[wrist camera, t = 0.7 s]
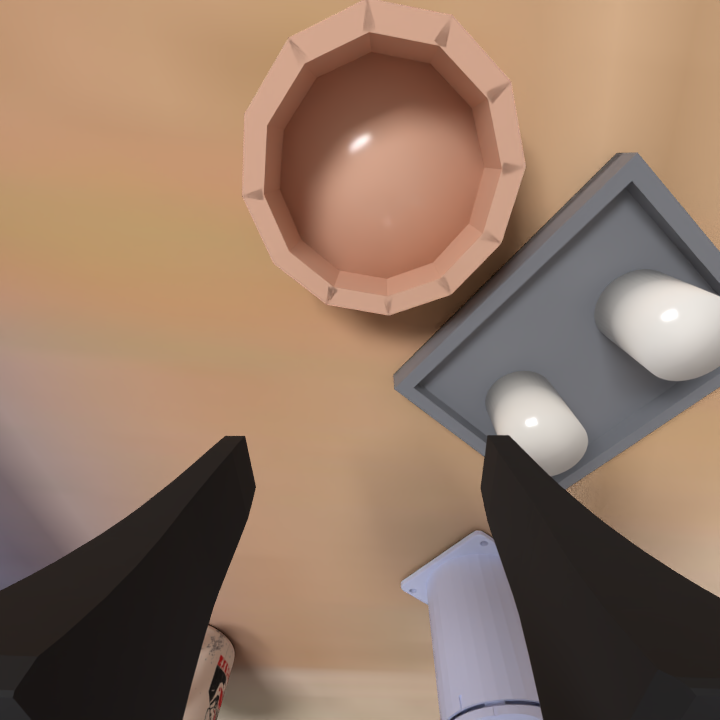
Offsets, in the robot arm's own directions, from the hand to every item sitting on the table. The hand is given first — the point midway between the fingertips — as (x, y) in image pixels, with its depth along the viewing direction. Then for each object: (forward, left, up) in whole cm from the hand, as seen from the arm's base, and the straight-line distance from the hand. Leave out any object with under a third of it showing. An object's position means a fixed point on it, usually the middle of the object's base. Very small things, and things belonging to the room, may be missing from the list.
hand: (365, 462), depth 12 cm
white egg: (-8, -9, -9) cm, 16 cm away
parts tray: (-8, -6, -10) cm, 14 cm away
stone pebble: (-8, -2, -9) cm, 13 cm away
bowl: (+5, -6, -10) cm, 12 cm away
